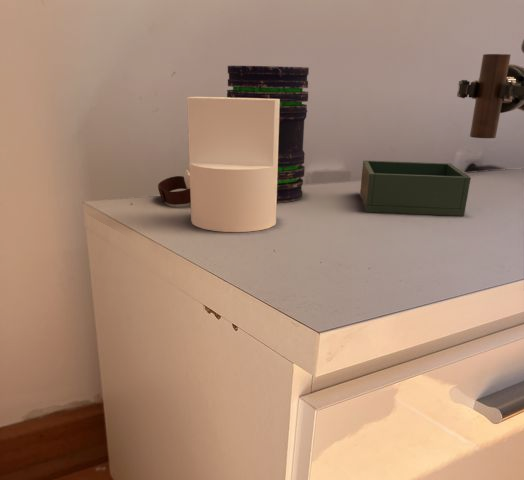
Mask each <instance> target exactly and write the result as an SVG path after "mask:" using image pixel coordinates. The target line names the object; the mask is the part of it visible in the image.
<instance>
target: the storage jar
mask: <svg viewBox="0 0 524 480" xmlns="http://www.w3.org/2000/svg"><path fill="white" fill-rule="evenodd" d="M309 71H310V67H307V66H306V67H305V66H279V65H278V66H274V65H227V74H228V79H227V87H232V89H227V90H226V97H227V98H261V99H280V108H279V140H278V172H277V203H279V204H280V203H290V202H294V201H299V200H301V199H302V198H303V192H304V191H303V190H302V189H303V188H302V187H303V185H304V180H303V179H302V178H304V177H305V166H304V164H305V154H306V152H305V151H304V138H305V137H304V136H305V120H306V118H307V113H308V110H307V109H308V105H307V104H306V102H309V91H304V90H303V89H309V80H308V76H309V74H310V73H309ZM303 103H304V104H303ZM277 203H276V204H277Z"/></svg>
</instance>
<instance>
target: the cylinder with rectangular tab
mask: <svg viewBox="0 0 524 480" xmlns="http://www.w3.org/2000/svg"><path fill="white" fill-rule="evenodd" d="M186 101H187V102H186V105H187V107H186V108H187V133H188V134H187V135H188V163H189V172H190V196H191V203H190V220H191V221H190V222H191V224H192V225H193V226H194V227H197V228H199V229H203V230H206V231H207V230H208V231H213V232H221V233H223V232H224V233H248V232H258V231H262V230H267V229H270V228H272V227H274V226H275V225H277V172H278V140H279V108H280V99H261V98H227V96H226V97H223V96H221V97H220V96H188V97H187V98H186Z"/></svg>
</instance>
